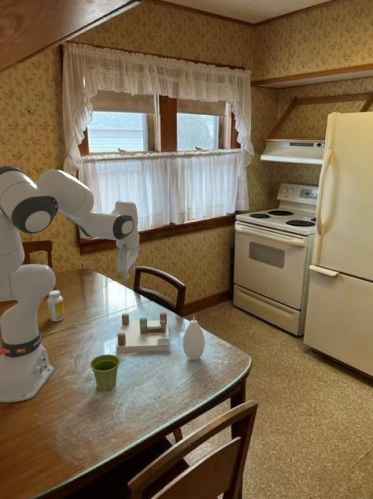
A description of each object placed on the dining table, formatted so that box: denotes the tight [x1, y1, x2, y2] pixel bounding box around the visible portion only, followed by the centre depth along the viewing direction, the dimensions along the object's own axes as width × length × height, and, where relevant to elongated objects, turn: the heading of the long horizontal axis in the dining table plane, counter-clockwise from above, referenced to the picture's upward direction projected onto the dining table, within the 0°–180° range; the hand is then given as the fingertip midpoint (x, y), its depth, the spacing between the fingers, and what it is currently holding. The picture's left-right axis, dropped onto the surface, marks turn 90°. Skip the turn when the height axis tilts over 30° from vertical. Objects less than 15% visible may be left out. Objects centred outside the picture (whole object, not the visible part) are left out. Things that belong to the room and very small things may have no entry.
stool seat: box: [115, 311, 171, 354], centre depth 148 cm, size 20×20×6 cm
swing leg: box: [139, 317, 166, 334], centre depth 148 cm, size 3×10×6 cm, turn 94°
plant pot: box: [89, 353, 121, 391], centre depth 120 cm, size 9×9×9 cm
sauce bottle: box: [182, 315, 206, 361], centre depth 133 cm, size 8×8×18 cm
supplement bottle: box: [46, 289, 66, 322], centre depth 164 cm, size 7×7×13 cm
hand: (129, 274), depth 148 cm, fingers open, 8 cm apart
